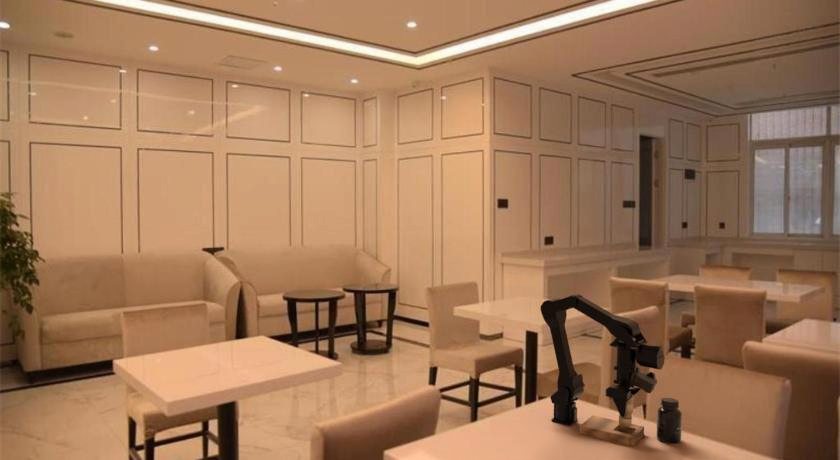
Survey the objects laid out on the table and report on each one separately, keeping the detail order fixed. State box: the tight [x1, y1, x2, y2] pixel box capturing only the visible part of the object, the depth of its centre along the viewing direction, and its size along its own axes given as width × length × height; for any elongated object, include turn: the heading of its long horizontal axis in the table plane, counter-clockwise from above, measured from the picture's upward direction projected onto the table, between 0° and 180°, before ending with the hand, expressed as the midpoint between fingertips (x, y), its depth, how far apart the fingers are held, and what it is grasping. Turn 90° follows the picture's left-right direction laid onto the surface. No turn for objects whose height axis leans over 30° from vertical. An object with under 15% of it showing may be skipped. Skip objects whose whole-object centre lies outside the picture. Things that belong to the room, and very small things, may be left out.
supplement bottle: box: [656, 397, 683, 445], centre depth 177 cm, size 7×7×12 cm
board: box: [579, 415, 645, 447], centre depth 181 cm, size 16×11×2 cm
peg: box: [618, 394, 635, 427], centre depth 178 cm, size 4×4×9 cm
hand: (625, 414), depth 178 cm, fingers closed on peg, 4 cm apart
